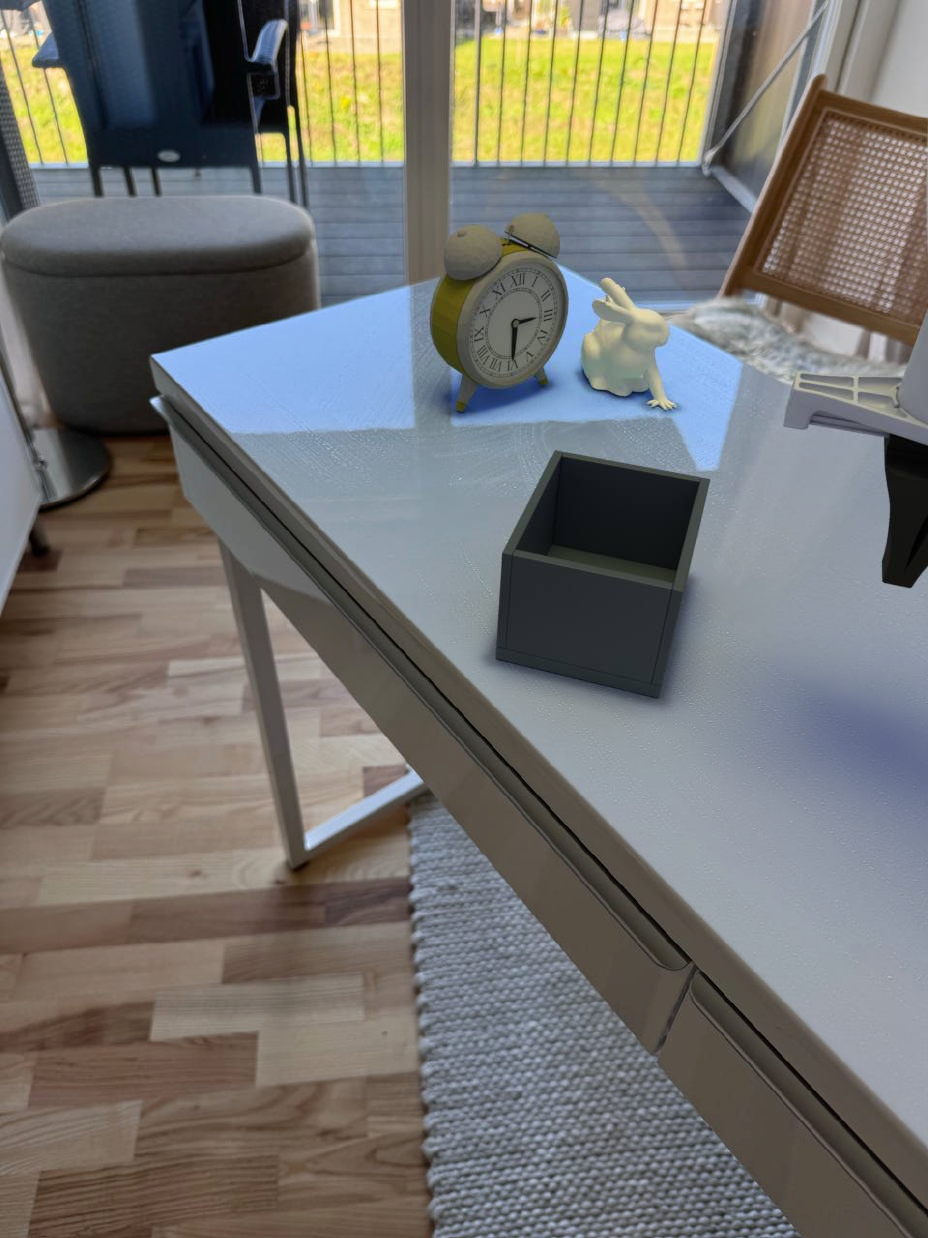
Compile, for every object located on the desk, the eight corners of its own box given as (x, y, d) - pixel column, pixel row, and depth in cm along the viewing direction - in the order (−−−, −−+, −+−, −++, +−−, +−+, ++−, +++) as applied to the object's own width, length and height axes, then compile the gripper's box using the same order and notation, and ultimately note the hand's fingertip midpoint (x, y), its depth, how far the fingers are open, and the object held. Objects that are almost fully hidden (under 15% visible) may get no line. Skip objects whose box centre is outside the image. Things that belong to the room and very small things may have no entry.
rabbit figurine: (677, 410, 81) (698, 302, 75) (599, 421, 79) (614, 311, 73) (619, 354, 90) (633, 253, 83) (547, 362, 88) (557, 260, 81)
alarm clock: (460, 422, 78) (464, 241, 69) (415, 391, 82) (414, 217, 73) (563, 388, 84) (581, 216, 74) (517, 361, 88) (528, 195, 78)
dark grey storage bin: (710, 478, 57) (554, 449, 59) (683, 591, 48) (501, 552, 51) (687, 579, 62) (544, 549, 64) (658, 698, 53) (495, 658, 56)
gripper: (1184, 299, 38) (1043, 560, 47) (825, 252, 42) (756, 504, 50) (1233, 367, 33) (1064, 646, 42) (818, 308, 37) (743, 577, 45)
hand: (896, 574), depth 46 cm, fingers closed
